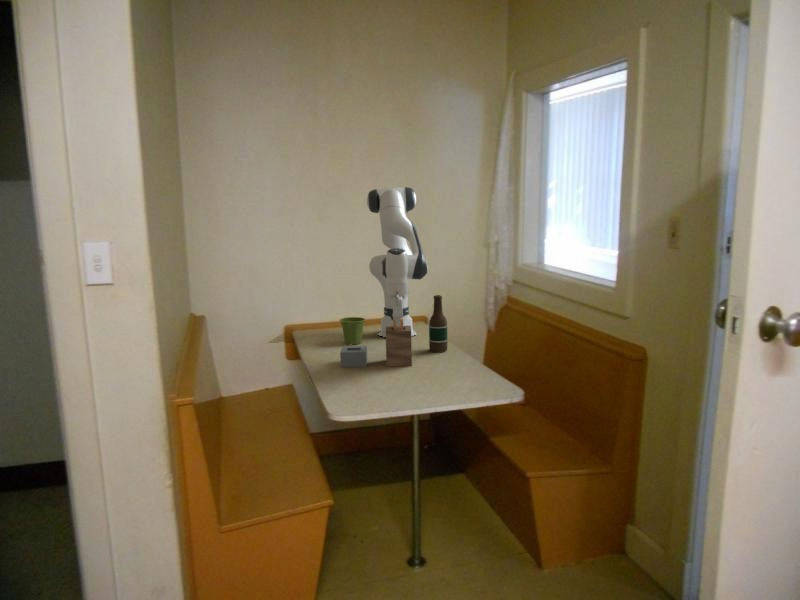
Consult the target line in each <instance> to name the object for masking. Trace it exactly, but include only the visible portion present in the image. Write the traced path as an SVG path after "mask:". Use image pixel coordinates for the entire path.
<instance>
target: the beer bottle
mask: <svg viewBox="0 0 800 600" xmlns="http://www.w3.org/2000/svg"><path fill="white" fill-rule="evenodd" d="M428 331H429V332H428V334H429V335H428V337H429V338H428V339H429V341H428V343H429V345H428V346H429V351H430V352H431V353H437V352H439V353H445V352H447V351H448V321H447V318H446V316H445V315H444V312H443V296H442V295H438V294H435V295H433V313H432V315H431V316H430V319H429V323H428ZM446 350H447V351H446Z"/></svg>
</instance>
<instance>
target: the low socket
mask: <svg viewBox="0 0 800 600" xmlns="http://www.w3.org/2000/svg"><path fill="white" fill-rule="evenodd" d="M339 354H340V357H339V358H340V368H366V367H367V364H368V361H369V360H368V346H367V345H350V346H349V345H347V346H346V345H345V346H343V345H342V347H341V349H340V353H339Z"/></svg>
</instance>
